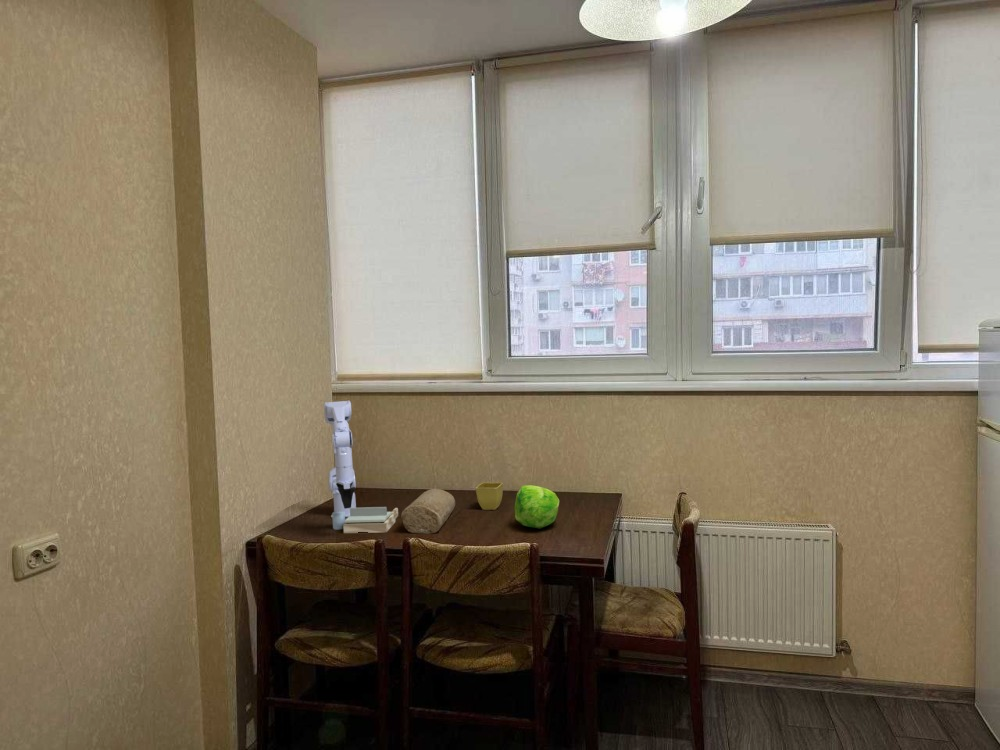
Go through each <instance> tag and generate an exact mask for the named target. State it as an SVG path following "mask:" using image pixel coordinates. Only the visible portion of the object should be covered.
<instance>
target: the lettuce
mask: <svg viewBox="0 0 1000 750" xmlns="http://www.w3.org/2000/svg"><path fill="white" fill-rule="evenodd" d="M559 506H560V499H559V497H558V496H557V494H556V493H555V492H553V491H552V490H550V489H548V488H545V487H542V486H538V485H531V484H529V485H526V484H525V485H522V486H521V487H520V489H519V490H518V491H517V493H516V497H515V502H514V514H515V515H514V516H515V519H516V521H517V522H518V523H520V524H521V525H522V526H525V527H528V528H531V529H534V528H535V529H540V530H541V529H543V528H545V527H547V526H549V525H551V524H553V523H554V521H555V520H556V518H557V515H558V513H559Z"/></svg>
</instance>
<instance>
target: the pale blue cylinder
mask: <svg viewBox="0 0 1000 750" xmlns="http://www.w3.org/2000/svg"><path fill="white" fill-rule="evenodd" d="M331 516H332V517H331V518H332V529H333V530H336V531H337V530H344V528H343V525H344V524H347V523H345V521H344V520H346V517H345V511H336V512H334V511H333V512H331Z"/></svg>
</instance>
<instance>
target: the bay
mask: <svg viewBox="0 0 1000 750" xmlns="http://www.w3.org/2000/svg"><path fill="white" fill-rule="evenodd" d="M390 512H391V515H390V516H389V517H388V518H387V519H386V520H385V521H384V522H354V523H346V524H344V525H343V528H344V529H343V534H359V533H358V532H368V533H367V534H369V533H375V534H376V533H377V534H378V533H387V532H388V531H389V530H390V529H391V528H392V527H393V526H394V524H395V523H396V521H397V520H396V519H397V518H398V517H399V508H398V507H395V508H394V509H393V510H391V511H390Z"/></svg>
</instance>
